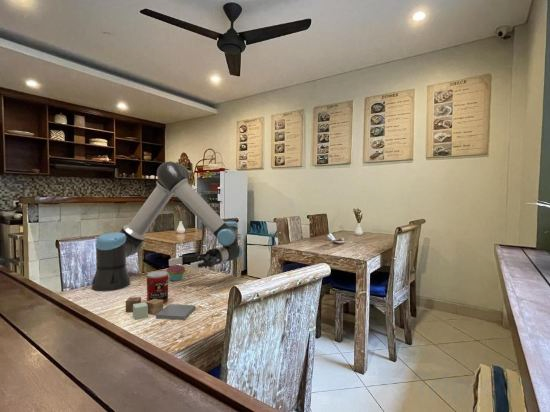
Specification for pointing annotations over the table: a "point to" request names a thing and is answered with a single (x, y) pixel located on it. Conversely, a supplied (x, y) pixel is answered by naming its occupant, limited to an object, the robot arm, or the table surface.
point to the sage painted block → (140, 310)
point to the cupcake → (176, 272)
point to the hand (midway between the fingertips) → (179, 264)
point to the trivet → (175, 312)
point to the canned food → (157, 286)
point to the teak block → (154, 306)
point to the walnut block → (132, 301)
